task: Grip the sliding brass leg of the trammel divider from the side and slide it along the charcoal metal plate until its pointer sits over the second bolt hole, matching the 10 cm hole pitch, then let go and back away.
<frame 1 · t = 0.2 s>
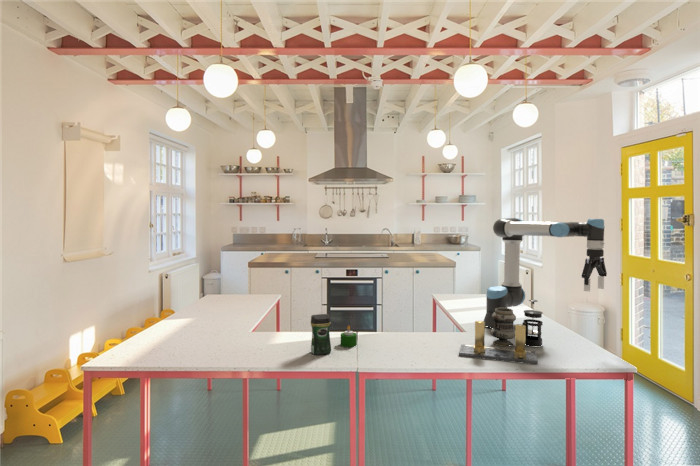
hand: (593, 289, 214), 28 cm above the table, tool pointing down, fingers open, 13 cm apart
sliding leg: (479, 337, 197), point 8 cm above the table, slide at -8.0 cm
coffee jar: (320, 353, 200), on the table
bolt plate: (497, 355, 197), on the table
apothecary jar: (503, 344, 215), on the table
french press: (531, 344, 213), on the table
candle: (348, 345, 213), on the table
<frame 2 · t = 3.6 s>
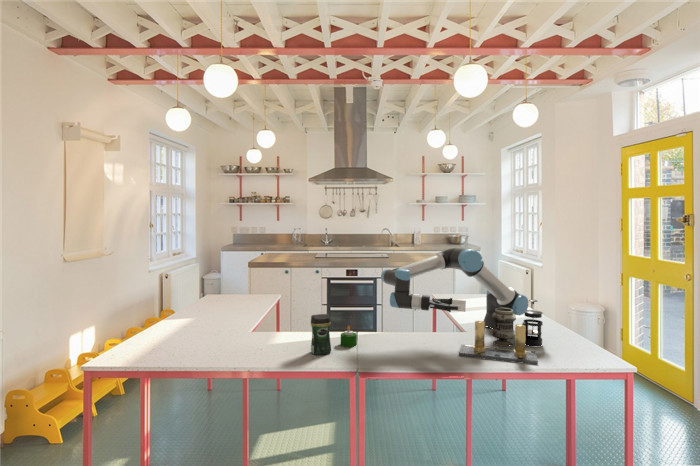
hand: (465, 306, 200), 22 cm above the table, tool horizontal, fingers open, 13 cm apart
nothing on the table moved.
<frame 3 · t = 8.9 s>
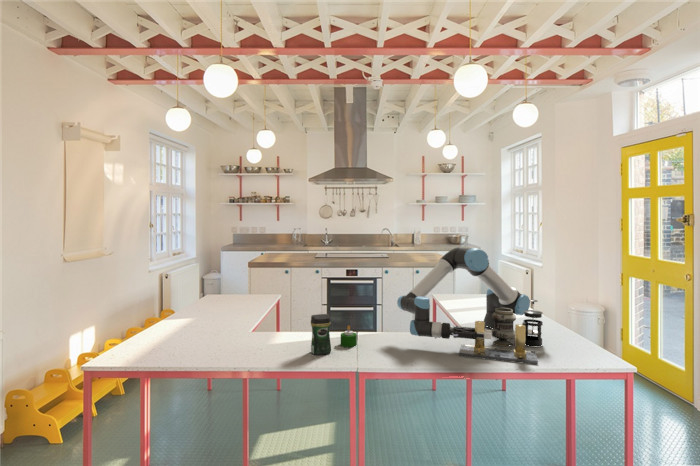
hand: (491, 334, 197), 9 cm above the table, tool horizontal, fingers closed on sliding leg, 4 cm apart
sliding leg: (479, 337, 197), point 8 cm above the table, slide at -8.0 cm, touching gripper
everything else where it was.
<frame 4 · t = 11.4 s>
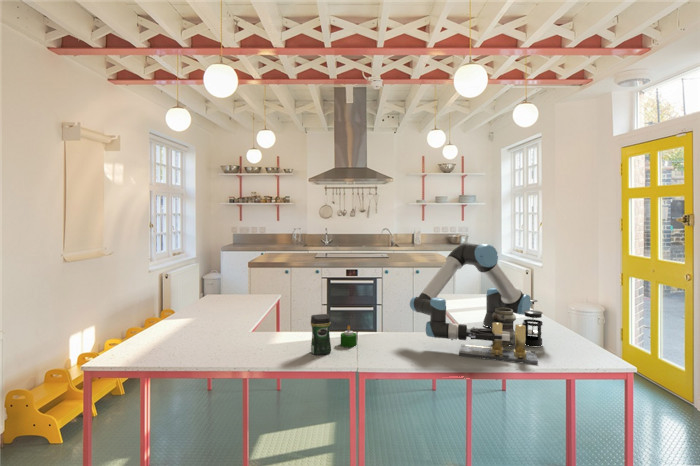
hand: (509, 336, 194), 9 cm above the table, tool horizontal, fingers closed on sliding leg, 4 cm apart
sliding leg: (497, 338, 195), point 8 cm above the table, slide at -0.1 cm, touching gripper
everything else where it was.
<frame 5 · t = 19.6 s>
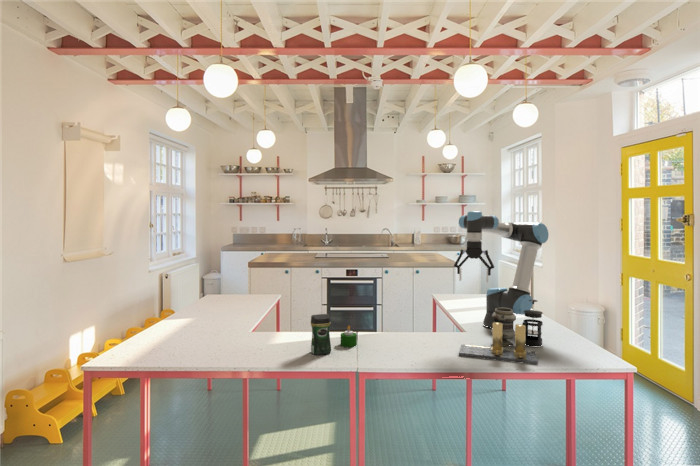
hand: (473, 281, 219), 32 cm above the table, tool pointing down, fingers open, 13 cm apart
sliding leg: (497, 338, 195), point 8 cm above the table, slide at 0.0 cm
everything else where it was.
at the end: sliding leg slide at 0.0 cm; the gripper is holding nothing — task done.
